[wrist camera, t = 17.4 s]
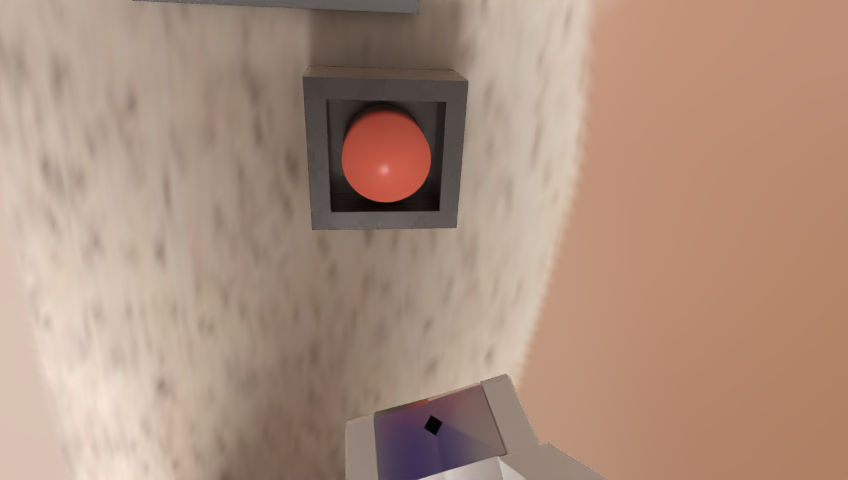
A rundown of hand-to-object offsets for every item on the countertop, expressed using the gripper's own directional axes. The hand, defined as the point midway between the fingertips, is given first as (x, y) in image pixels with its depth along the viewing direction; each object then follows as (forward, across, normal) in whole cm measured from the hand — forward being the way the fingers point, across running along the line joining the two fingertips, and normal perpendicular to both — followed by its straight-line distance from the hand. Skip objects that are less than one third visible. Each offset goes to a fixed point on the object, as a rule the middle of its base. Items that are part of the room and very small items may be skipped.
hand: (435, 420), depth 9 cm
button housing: (+19, -1, 0) cm, 19 cm away
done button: (+17, -1, 0) cm, 17 cm away
